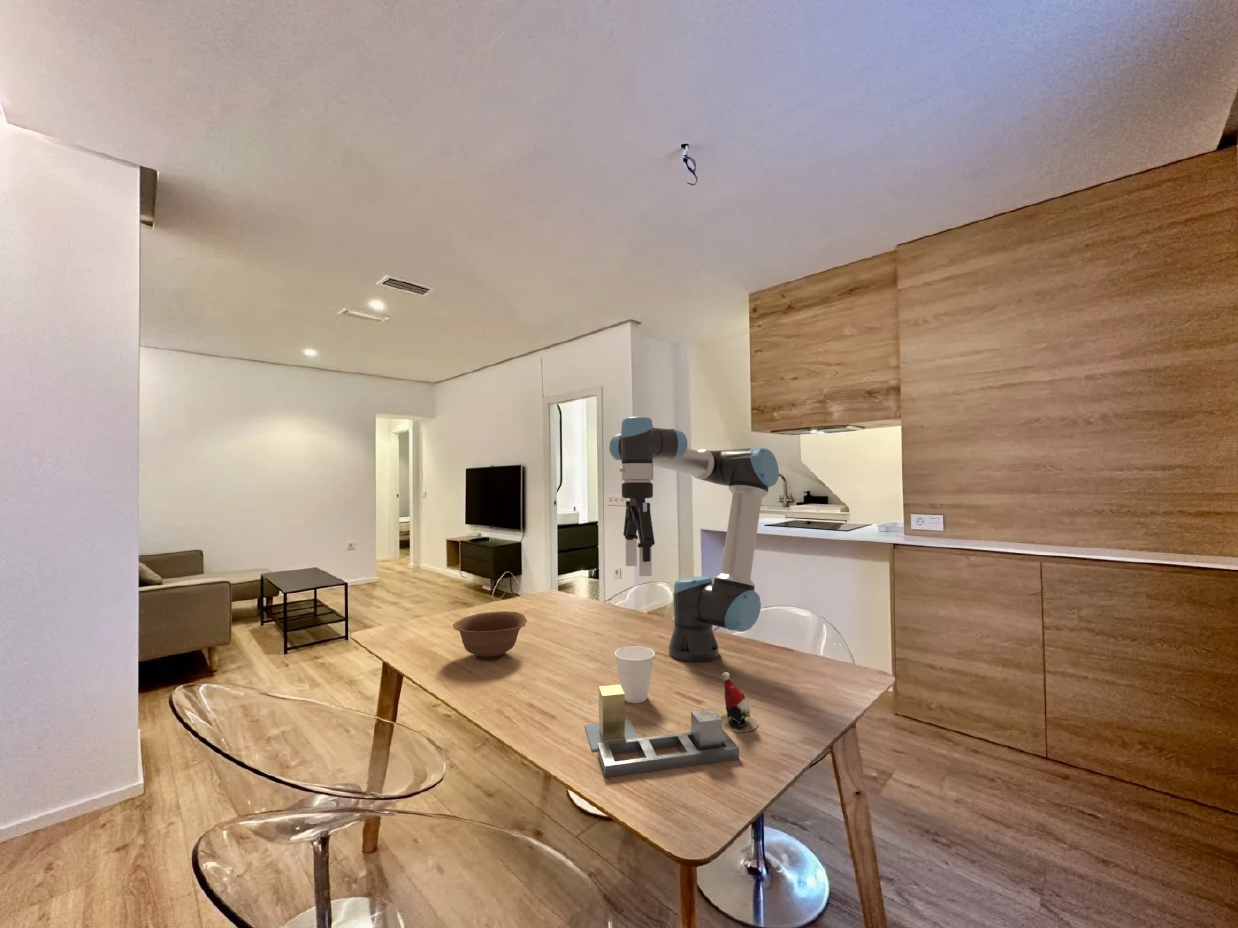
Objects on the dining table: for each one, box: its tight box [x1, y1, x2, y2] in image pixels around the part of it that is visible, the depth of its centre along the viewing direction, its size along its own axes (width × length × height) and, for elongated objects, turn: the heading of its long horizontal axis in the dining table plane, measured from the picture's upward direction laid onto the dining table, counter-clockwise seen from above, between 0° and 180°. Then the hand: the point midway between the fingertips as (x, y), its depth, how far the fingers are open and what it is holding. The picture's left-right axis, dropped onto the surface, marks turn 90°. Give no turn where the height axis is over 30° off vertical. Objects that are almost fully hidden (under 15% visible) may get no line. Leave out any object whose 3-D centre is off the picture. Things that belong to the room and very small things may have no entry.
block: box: [690, 708, 723, 751], centre depth 96 cm, size 5×5×7 cm
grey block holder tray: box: [597, 728, 740, 778], centre depth 94 cm, size 26×8×2 cm, turn 102°
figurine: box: [719, 671, 759, 733], centre depth 107 cm, size 8×10×12 cm
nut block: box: [598, 684, 626, 741], centre depth 102 cm, size 5×5×9 cm
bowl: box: [452, 610, 528, 663], centre depth 150 cm, size 22×22×11 cm
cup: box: [614, 645, 656, 704], centre depth 120 cm, size 10×10×11 cm
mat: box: [584, 719, 639, 752], centre depth 102 cm, size 10×10×1 cm
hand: (638, 570), depth 117 cm, fingers open, 13 cm apart
